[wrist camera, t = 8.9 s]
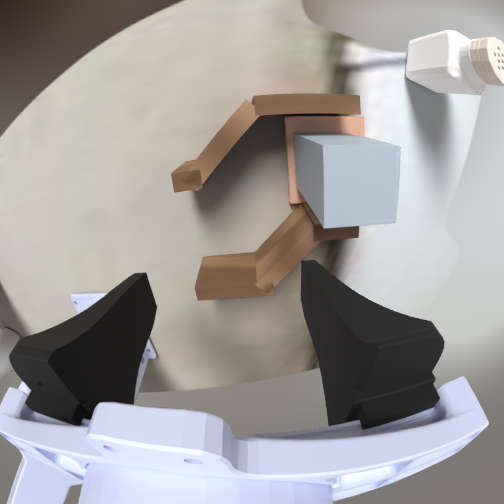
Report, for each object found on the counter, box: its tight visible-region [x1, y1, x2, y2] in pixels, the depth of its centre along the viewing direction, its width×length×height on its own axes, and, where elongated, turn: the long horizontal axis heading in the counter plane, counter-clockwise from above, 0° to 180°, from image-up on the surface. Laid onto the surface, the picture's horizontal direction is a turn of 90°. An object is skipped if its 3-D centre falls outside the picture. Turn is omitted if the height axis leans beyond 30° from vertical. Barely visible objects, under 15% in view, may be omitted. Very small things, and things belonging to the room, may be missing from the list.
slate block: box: [293, 133, 401, 228], centre depth 16 cm, size 4×4×8 cm
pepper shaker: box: [406, 30, 504, 95], centre depth 11 cm, size 4×4×10 cm
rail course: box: [171, 94, 361, 301], centre depth 19 cm, size 13×12×4 cm
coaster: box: [284, 116, 364, 204], centre depth 19 cm, size 7×6×1 cm
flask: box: [0, 327, 21, 385], centre depth 26 cm, size 7×7×10 cm
